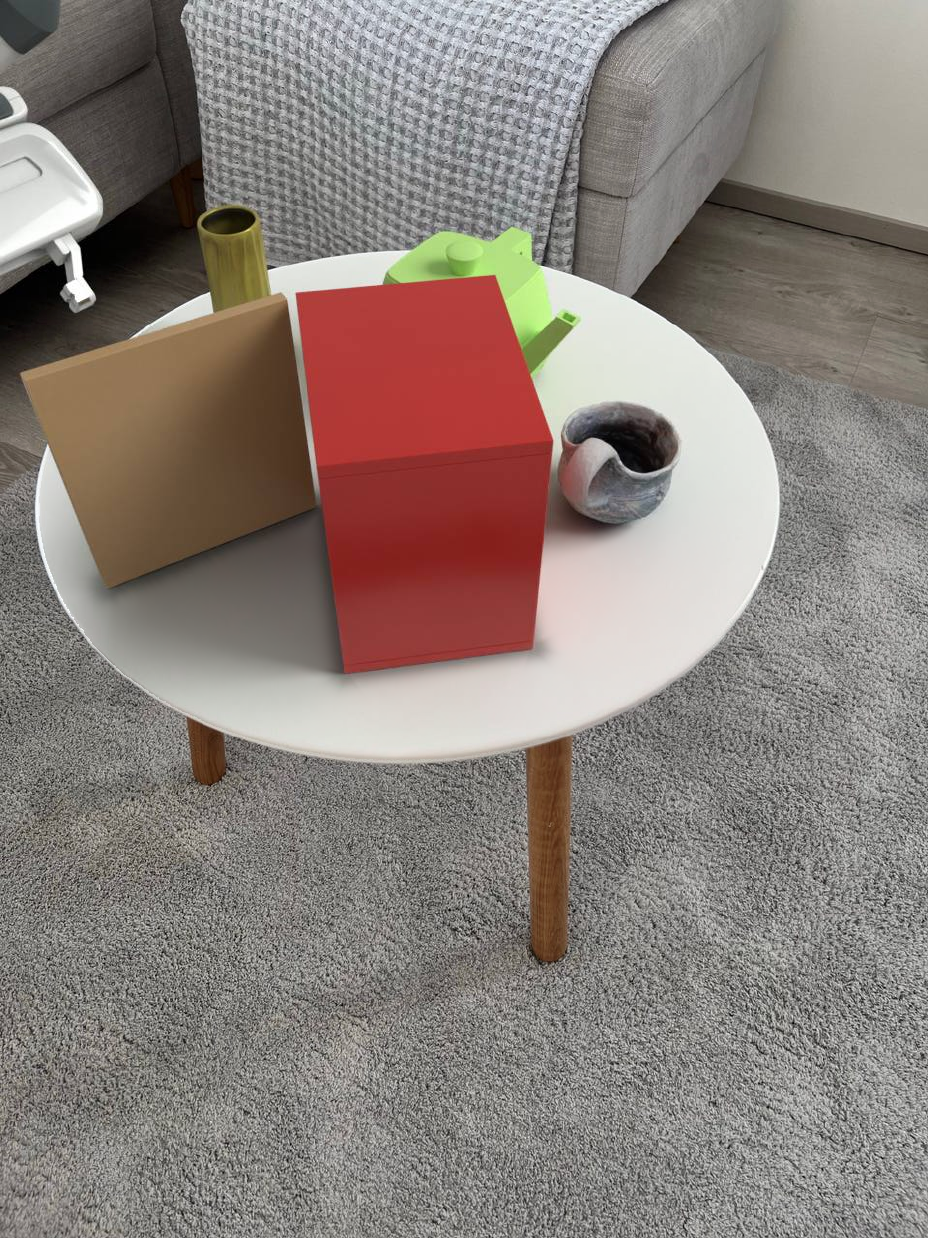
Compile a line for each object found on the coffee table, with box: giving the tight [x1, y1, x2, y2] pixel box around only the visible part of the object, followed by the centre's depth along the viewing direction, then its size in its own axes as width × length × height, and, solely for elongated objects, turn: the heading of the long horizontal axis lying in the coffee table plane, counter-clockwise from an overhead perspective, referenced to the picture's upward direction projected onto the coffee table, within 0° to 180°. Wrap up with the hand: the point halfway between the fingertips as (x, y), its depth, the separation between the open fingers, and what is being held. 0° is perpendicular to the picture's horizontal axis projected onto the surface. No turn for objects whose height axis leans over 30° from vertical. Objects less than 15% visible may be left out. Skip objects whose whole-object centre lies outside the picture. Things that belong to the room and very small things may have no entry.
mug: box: [557, 400, 682, 525], centre depth 81 cm, size 10×12×10 cm
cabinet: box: [295, 275, 554, 674], centre depth 73 cm, size 14×18×20 cm
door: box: [19, 291, 317, 590], centre depth 76 cm, size 6×18×20 cm, turn 121°
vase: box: [196, 204, 272, 313], centre depth 92 cm, size 6×6×14 cm
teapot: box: [381, 226, 582, 381], centre depth 91 cm, size 18×20×13 cm
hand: (30, 335), depth 71 cm, fingers open, 8 cm apart
